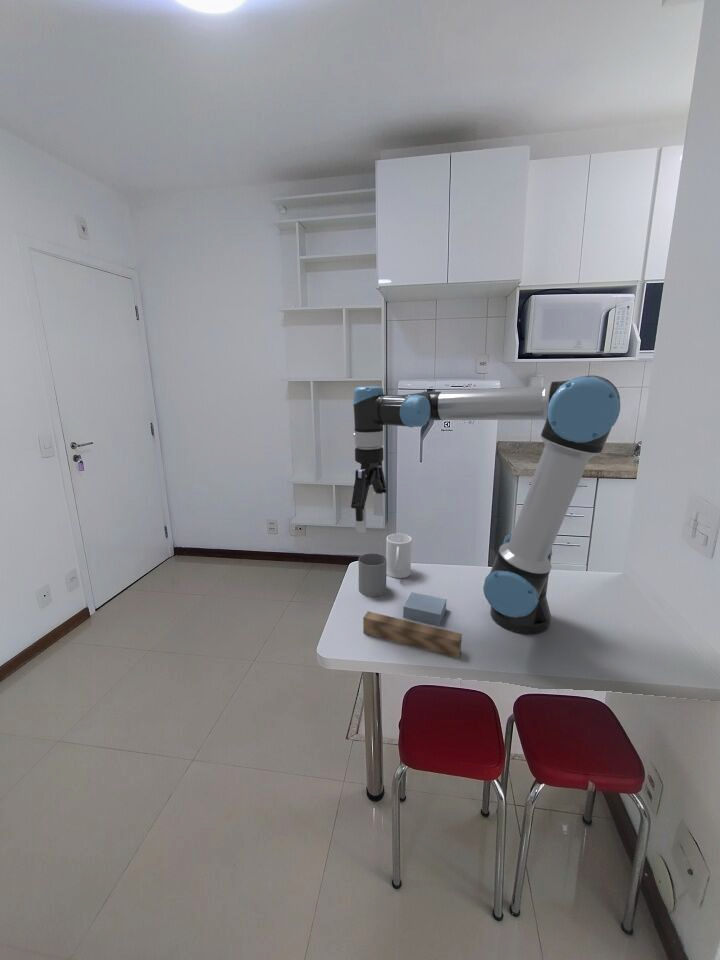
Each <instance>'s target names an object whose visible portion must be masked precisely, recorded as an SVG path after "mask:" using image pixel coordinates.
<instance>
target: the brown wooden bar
mask: <svg viewBox="0 0 720 960" xmlns="http://www.w3.org/2000/svg"><path fill="white" fill-rule="evenodd" d="M362 618H363V621H362V622H363V630H362V631H363V632H362V633H363V634H366V635H369V636H373V637H378V638H382V639H385V640H390V641H393V642H397V643H400V644H404V645H408V646H412V647H416V648H419V649H422V650H427V651H431V652H434V653H438V654H442V655H446V656H449V657H454V658H457V659H458V658H459V657H460V653H461V649H462V639H463V638H462V635H463V634H462V633H460V632H456V631H451V630H447V629H444V628H439V627H435V626H431V625H428V624H427V625H426V624H422V623H418V622H414V621H410V620H406V619H402V618H397V617H393V616H389V615H385V614H381V613H377V612H374V611H373V612H372V611H368V610H367V612H366V613H365V614H364V616H363V617H362Z"/></svg>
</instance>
